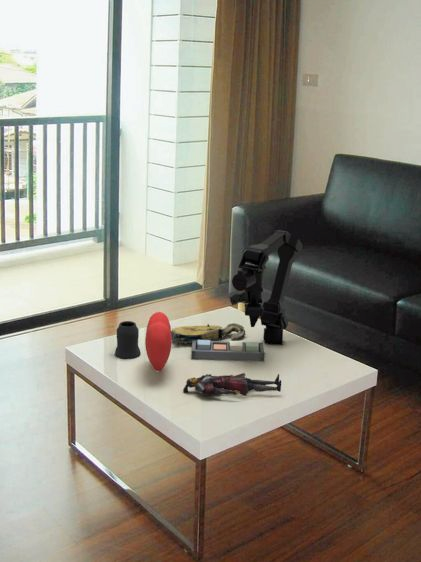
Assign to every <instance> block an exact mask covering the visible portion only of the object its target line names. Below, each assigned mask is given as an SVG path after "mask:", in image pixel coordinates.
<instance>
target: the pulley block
mask: <svg viewBox="0 0 421 562" xmlns="http://www.w3.org/2000/svg"><path fill="white" fill-rule="evenodd" d="M233 332H234V334H232V333H233ZM171 334H172V341H174V342H176V343H180V342H181V343H182V344H185V345H187V343H192V342H193V340H197V341H198V340H210V341H223V337H226V336H228V335H231V334H232V335H231V336H230V339H231V341H235V340H240V339H243V338H244V336H246V335H247V334H246V330H245V327H244V325H242V324H240V323H228V324H227V325H225V327H224V328H223V327H222V326H220V325H210V323H207V325H188V326H187V325H185V326H178V327H174V328H173V327H172V328H171Z"/></svg>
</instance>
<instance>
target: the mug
mask: <svg viewBox="0 0 421 562" xmlns="http://www.w3.org/2000/svg"><path fill="white" fill-rule="evenodd" d="M139 332H140V331H139V328H138V326H137V323H136V322H134V321H130V320H126V321H125V320H124V321H121V322H119V324H118V326H117V328H116V348H115V351H114V356H115V357H116V358H118V359H121V360H134V359H137V358H139V357H141V354H142V353H141V349H140V346H139V335H140V334H139Z"/></svg>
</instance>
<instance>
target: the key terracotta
mask: <svg viewBox="0 0 421 562" xmlns="http://www.w3.org/2000/svg"><path fill="white" fill-rule="evenodd" d="M213 350H215V351H226V345H221V344H214V349H213Z"/></svg>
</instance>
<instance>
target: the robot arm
mask: <svg viewBox="0 0 421 562" xmlns="http://www.w3.org/2000/svg"><path fill="white" fill-rule="evenodd" d="M302 250H303V243H302V242H301V240H300V239H299V238H297V237H295V236H293V235H292V234H291V233H290V232H289V231H286V230H279V229H278V230H275V231H274V233H273V234H271V235H270V236H268V237H267V238H266V239H265V240H263V241H262V242H260V243H259V244H251V245H249V246H247V247H246V248H245V250H244V251H243V254H242V257H241V259H240V262H239V265H238V268H239V269H238V270H237V274H235V275H234V276H233V277H232V279H231V285H232V287H233V288H234V291H231V292H229V293H228V297H229V300H230V301H229V302H230V304H231V306H235V305H237V304H239V303H243V302H244V315H245V316H248V318H249V323H250V327H251V328H254V327H255V326H256V324H257V322H258V320H259V318H260V323H261V326H265V327H264V328H263V337H262V338H263V342H264V344H265V345H276V346H277V345H279V346H281V345H284V342H283V341H284V340H283V338H284V330H286V329H287V327H288V325H289V319H288V318H287V316H286V307H285V304H284V299H285V295H286V291H287V287H288V282H289V279H290V275H291V270H292V267H293V263H294V262H296V260H298V258H299V257H300V254H301V252H302ZM275 251H277V252H276V253H277V256H278V259H279V262H278V264H277V265H278V266H277V269H276V271H275V272H276V273H275V277H274V281H273V285H272V288H271V289H272V290H271V293H270V296H269V299H268V300H267V301H264V302H263V292H264V271H265V270H266V269H267V266H266V264H267V262H269V260H270V259H269V258H270V256H271V254H273V253H274V252H275Z"/></svg>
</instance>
